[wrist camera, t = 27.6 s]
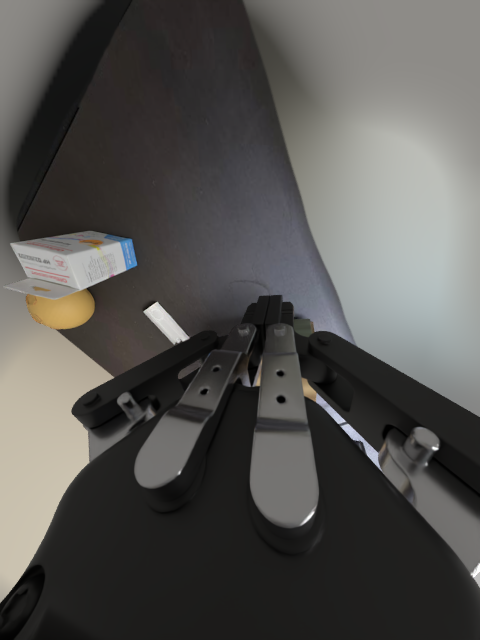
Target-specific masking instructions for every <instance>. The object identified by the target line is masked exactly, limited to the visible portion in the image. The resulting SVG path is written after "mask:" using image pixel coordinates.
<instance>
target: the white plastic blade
mask: <svg viewBox="0 0 480 640" xmlns="http://www.w3.org/2000/svg"><path fill="white" fill-rule="evenodd" d="M143 312H144V313H145V314H146V315H147V316H148V317H149V319H150V320H151V321H152V322H153V323H154V324H155V325H156V326H157V327H158V328H159V329H160V330H161V331H162V332H163V333H164V334H165V335H166V336H167V337H168V338H169V340H170V341H171V342H172V343H173V344H174V345H175V343H176V342H177V343H179V342H180V341H181V340H182V341H185V340H187V339H189V337H188V335H187V334H185V332H184V331H183V330H182V329H181V327H179V325H178V324H177V323H176V322H175V321H174V319H172V318H171V317H170V315H169V314H168V313H167V312H166V311H165V310H164V309H163V308H162V307H161V305H160V304H159V303H158V302H156V303H155V304H153V305H152V306H150V307H149V308H147V309H146V310H145V311H143ZM179 338H180V339H181V340H180V339H179Z"/></svg>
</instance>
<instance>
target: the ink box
mask: <svg viewBox="0 0 480 640" xmlns="http://www.w3.org/2000/svg"><path fill="white" fill-rule="evenodd" d="M10 245H11V247H12V249H13V250H14V252H15V254H16V256H17V258H18V259H19V261H20V263H21V265H22V267H23V269H24V271H25V273H26V275H27V277H28V279H25V280H21V281H18V282H15V283H11V284H7V285H5V286H3V288H6V289H10V290H15V291H18V292H22V293H26V294H30V295H35V296H39V297H44V298H48V299H52V300H55V299H59V298H62V297H64V296H67V295H70V294H72V293H74V292H77V291H81V290H83V289H85V288H88V287H90V286H92V285H94V284H97V283H99V282H101V281H103V280H106V279H108V278H110V277H112V276H115V275H117V274H119V273H122V272H124V271H126V270H128V269H131V268H133V267H135V266H137V262H136V257H135V253H134V248H133V243H132V239H130V238H124V237H119V236H114V235H109V234H104V233H99V232H94V231H85V232H79V233H73V234H67V235H61V236H54V237H48V238H42V239H35V240H29V241H22V242H16V243H10ZM30 287H40V288H44V289H49V290H51V291H41V290H40V291H35V289H33V288H30Z"/></svg>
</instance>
